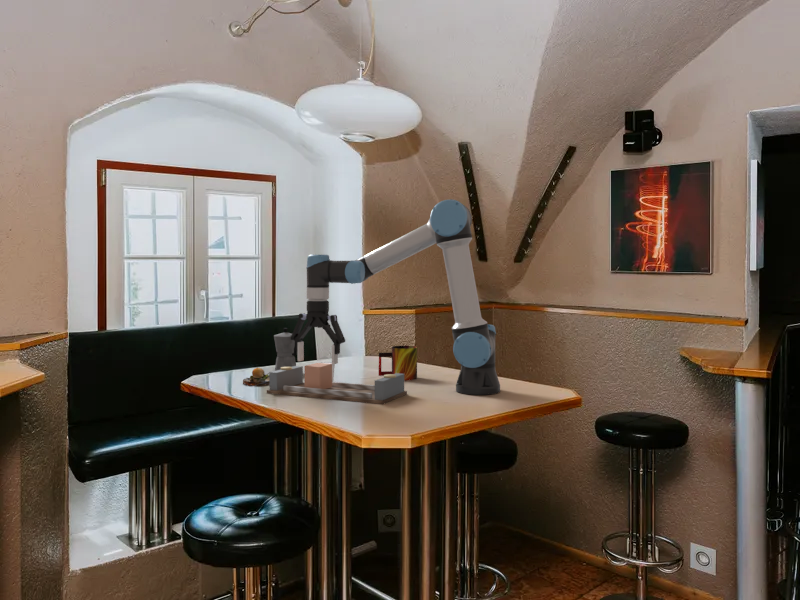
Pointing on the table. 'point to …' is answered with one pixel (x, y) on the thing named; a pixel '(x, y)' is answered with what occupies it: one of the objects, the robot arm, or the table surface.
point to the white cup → (332, 369)
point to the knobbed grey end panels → (294, 376)
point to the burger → (257, 378)
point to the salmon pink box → (318, 376)
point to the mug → (402, 361)
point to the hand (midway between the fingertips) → (317, 362)
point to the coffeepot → (285, 350)
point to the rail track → (337, 392)
